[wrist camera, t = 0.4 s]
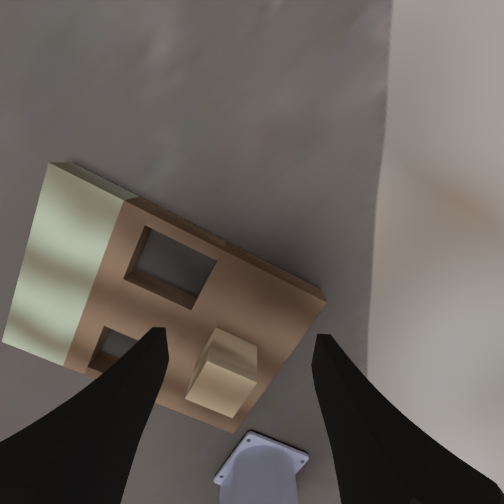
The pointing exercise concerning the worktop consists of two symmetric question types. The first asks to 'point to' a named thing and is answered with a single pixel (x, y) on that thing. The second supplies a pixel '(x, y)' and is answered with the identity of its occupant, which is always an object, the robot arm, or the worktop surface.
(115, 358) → the board
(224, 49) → the worktop surface
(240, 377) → the beech block
